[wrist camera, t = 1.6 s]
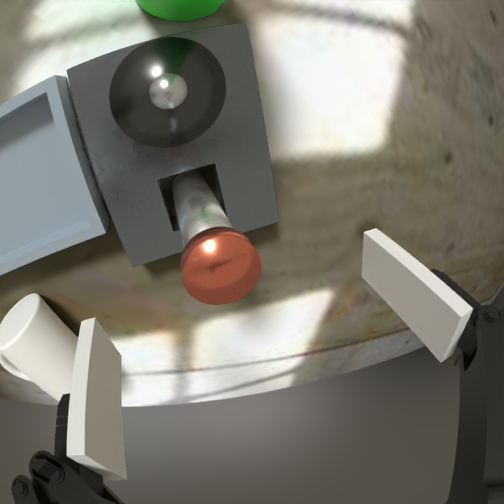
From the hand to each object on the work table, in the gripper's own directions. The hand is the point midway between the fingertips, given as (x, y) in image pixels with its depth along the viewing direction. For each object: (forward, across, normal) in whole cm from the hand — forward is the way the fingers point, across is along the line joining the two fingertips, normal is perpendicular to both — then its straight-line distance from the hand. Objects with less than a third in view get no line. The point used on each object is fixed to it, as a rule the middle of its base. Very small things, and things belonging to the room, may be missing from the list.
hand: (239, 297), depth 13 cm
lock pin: (+16, 0, 0) cm, 16 cm away
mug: (+16, -24, -10) cm, 30 cm away
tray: (+16, -18, +7) cm, 25 cm away
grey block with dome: (+16, 0, +5) cm, 17 cm away
